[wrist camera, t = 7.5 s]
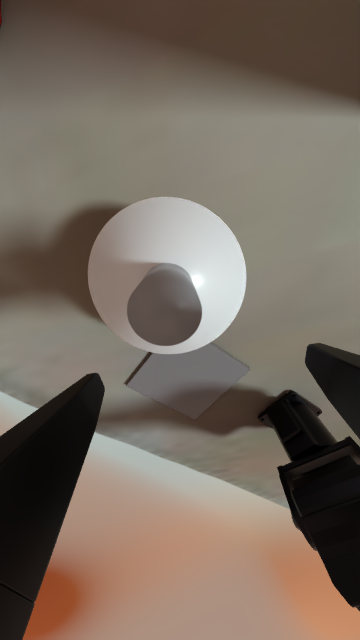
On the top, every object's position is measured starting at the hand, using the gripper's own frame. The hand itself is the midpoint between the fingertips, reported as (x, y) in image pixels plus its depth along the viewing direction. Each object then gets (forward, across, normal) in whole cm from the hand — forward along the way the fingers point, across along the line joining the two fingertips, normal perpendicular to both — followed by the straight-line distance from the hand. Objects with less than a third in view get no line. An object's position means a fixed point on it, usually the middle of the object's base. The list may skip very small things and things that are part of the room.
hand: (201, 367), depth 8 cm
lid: (+7, +1, -2) cm, 8 cm away
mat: (+12, +1, +11) cm, 16 cm away
